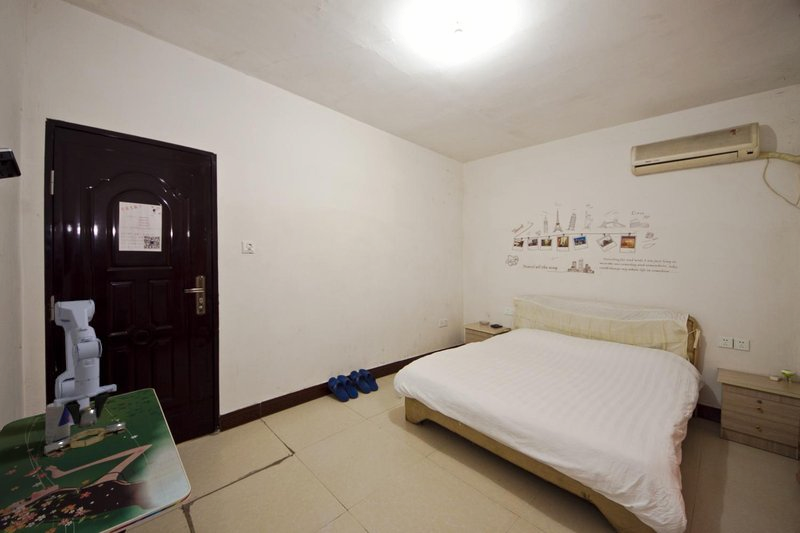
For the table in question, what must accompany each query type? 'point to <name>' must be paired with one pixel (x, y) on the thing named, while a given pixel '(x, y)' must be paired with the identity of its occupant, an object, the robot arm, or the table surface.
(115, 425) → the shaft
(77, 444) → the collar
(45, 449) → the shaft
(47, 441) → the energy drink
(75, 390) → the robot arm
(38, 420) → the table surface
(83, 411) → the hub
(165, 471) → the table surface
